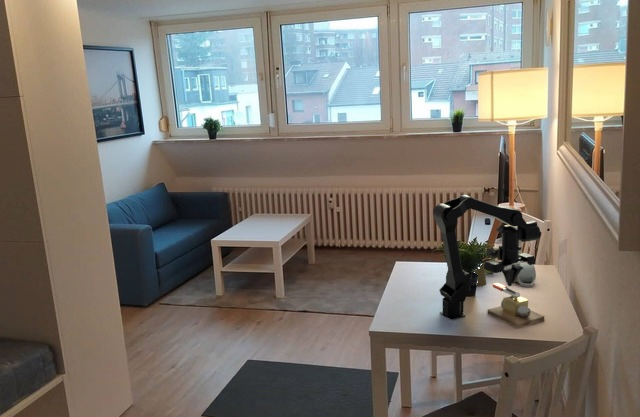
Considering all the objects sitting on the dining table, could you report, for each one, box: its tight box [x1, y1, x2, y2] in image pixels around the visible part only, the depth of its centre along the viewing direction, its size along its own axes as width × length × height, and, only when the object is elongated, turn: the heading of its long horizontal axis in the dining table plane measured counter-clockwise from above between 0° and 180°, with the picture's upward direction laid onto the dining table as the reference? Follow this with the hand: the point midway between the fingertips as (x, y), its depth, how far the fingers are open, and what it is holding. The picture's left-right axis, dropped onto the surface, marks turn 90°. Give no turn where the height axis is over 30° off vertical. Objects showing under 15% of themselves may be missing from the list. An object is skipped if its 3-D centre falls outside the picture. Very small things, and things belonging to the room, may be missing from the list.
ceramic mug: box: [513, 262, 537, 288], centre depth 229 cm, size 11×8×8 cm
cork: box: [474, 263, 487, 287], centre depth 230 cm, size 6×6×11 cm
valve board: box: [486, 305, 545, 329], centre depth 198 cm, size 12×14×2 cm
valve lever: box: [492, 282, 521, 298], centre depth 201 cm, size 12×3×1 cm, turn 21°
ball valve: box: [500, 295, 531, 318], centre depth 197 cm, size 6×10×6 cm, turn 25°
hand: (509, 285), depth 206 cm, fingers closed
